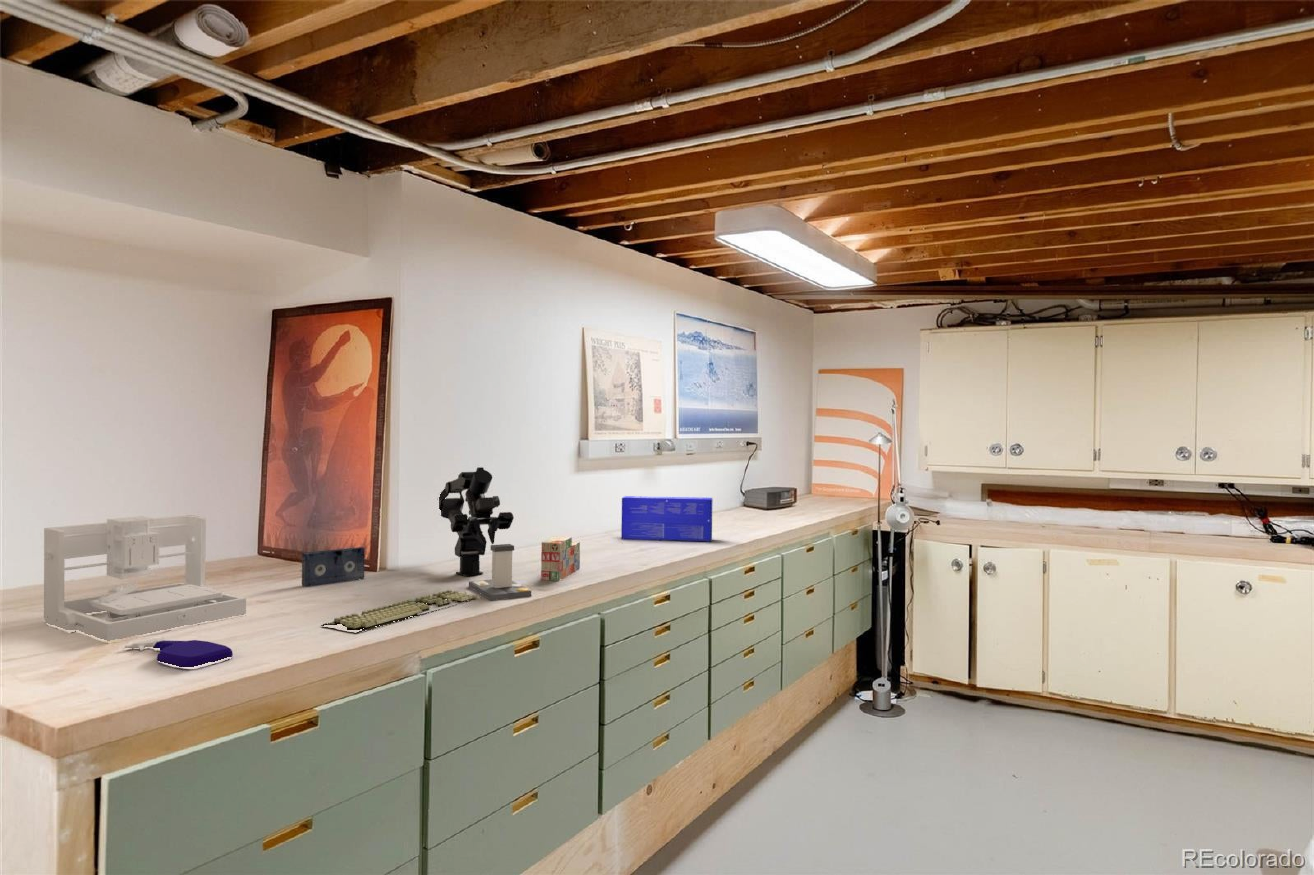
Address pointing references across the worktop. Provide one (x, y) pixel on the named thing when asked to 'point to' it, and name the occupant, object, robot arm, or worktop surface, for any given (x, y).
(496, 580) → the lever
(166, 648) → the dark purple flat pad
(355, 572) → the vhs cassette tape
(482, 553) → the robot arm
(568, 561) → the stack of blocks
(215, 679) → the worktop surface
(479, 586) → the switch panel
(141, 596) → the 3d printer
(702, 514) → the toner cartridge box
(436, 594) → the keyboard
